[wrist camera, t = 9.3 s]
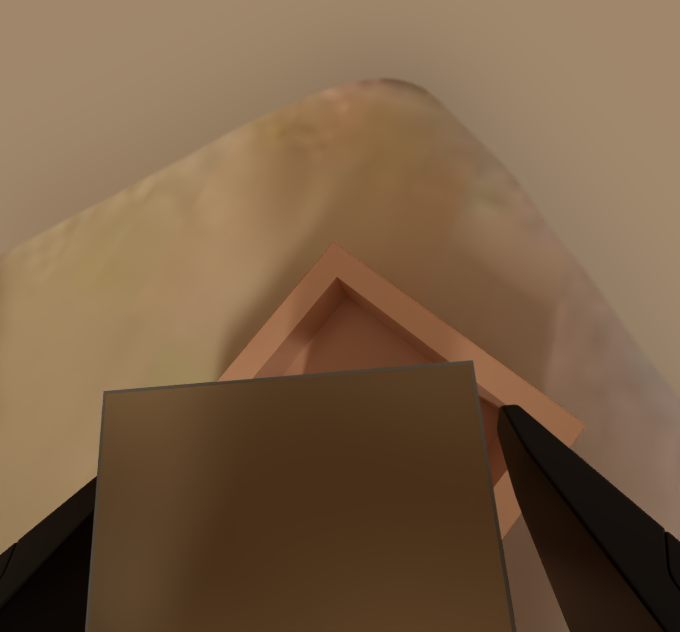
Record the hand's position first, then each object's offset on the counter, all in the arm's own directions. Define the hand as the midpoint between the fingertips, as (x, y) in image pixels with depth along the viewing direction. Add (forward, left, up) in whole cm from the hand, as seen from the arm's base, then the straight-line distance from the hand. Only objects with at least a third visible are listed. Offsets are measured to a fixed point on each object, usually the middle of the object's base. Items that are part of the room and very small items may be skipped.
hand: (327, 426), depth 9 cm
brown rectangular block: (-1, +1, -8) cm, 8 cm away
